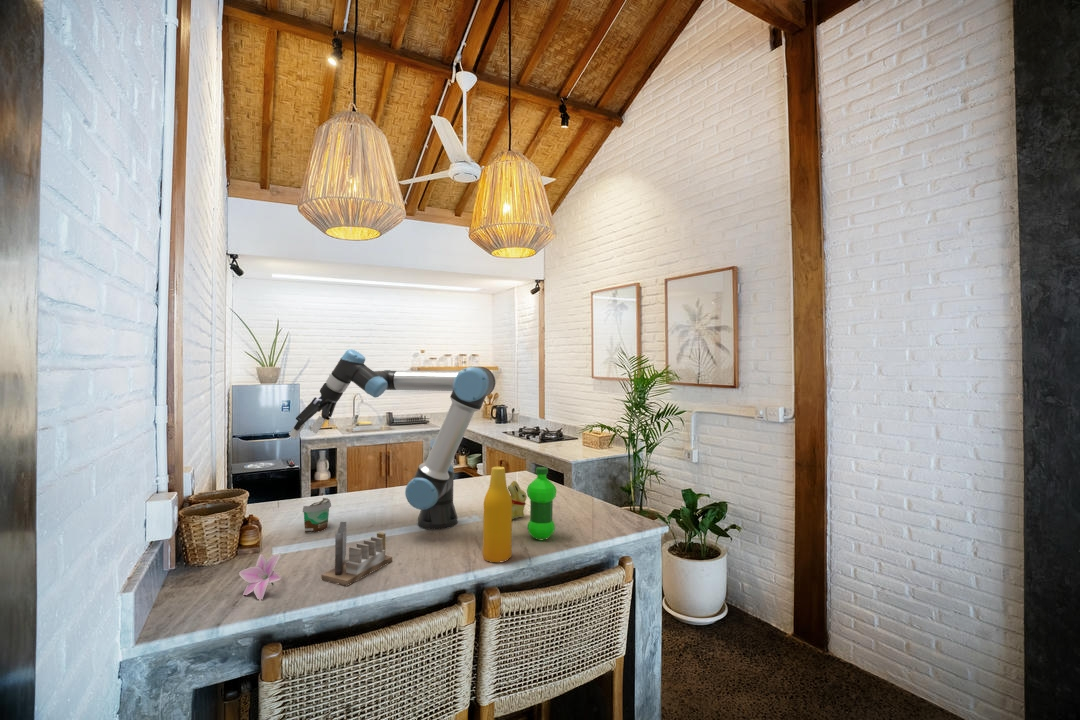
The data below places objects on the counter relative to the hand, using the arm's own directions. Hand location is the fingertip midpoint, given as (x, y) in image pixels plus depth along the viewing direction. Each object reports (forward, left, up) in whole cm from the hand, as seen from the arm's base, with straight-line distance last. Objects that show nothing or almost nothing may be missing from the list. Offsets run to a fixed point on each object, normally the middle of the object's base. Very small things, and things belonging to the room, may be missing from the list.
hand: (303, 434), depth 187 cm
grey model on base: (-18, +46, -35) cm, 61 cm away
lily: (+7, +52, -36) cm, 63 cm away
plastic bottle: (-80, +39, -35) cm, 96 cm away
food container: (-6, +3, -35) cm, 36 cm away
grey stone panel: (-14, +42, -33) cm, 55 cm away
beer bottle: (-60, +51, -35) cm, 86 cm away
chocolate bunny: (-78, +14, -35) cm, 87 cm away
